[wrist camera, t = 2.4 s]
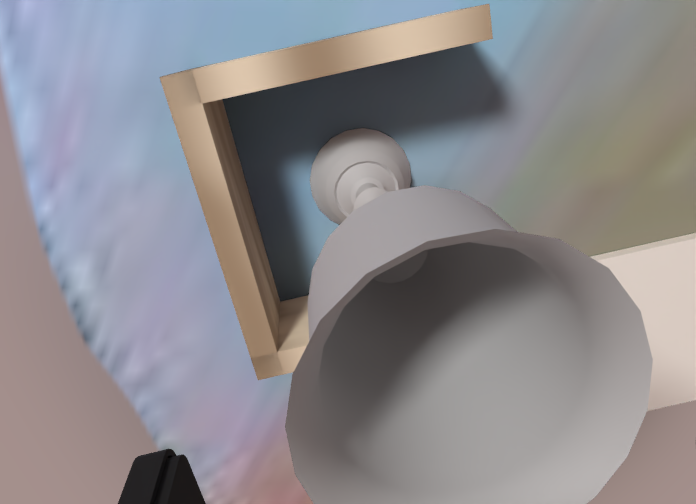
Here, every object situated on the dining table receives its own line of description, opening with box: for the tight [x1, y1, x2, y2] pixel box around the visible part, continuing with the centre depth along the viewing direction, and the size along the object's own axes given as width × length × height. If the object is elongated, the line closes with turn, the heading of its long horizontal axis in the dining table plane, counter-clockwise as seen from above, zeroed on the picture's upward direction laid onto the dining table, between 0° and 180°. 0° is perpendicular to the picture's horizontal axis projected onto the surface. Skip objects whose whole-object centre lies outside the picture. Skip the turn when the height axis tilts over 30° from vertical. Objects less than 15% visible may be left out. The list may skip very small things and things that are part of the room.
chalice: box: [285, 128, 653, 504], centre depth 18 cm, size 7×7×18 cm
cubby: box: [160, 4, 493, 380], centre depth 24 cm, size 12×13×5 cm
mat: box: [591, 233, 696, 411], centre depth 31 cm, size 11×11×1 cm
